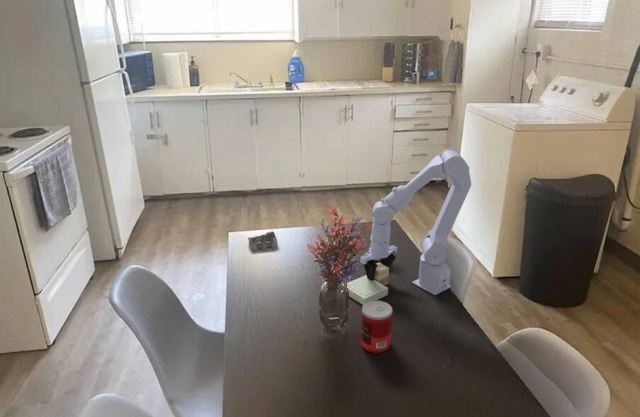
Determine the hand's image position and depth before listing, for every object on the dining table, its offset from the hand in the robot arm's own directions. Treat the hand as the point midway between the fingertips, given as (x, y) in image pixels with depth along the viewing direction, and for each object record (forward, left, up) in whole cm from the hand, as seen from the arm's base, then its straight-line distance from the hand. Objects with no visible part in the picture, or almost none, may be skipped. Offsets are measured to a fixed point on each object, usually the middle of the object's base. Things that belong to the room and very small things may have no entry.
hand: (377, 277), depth 153 cm
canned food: (-22, +22, -2) cm, 31 cm away
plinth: (-2, +7, -2) cm, 8 cm away
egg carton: (+47, +14, -3) cm, 49 cm away
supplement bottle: (+13, -13, -2) cm, 18 cm away
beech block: (0, 0, -2) cm, 2 cm away
